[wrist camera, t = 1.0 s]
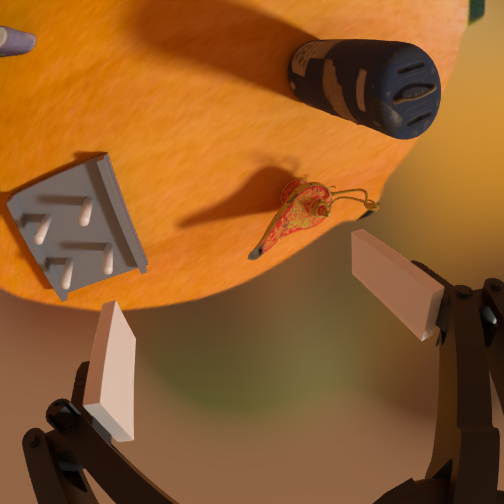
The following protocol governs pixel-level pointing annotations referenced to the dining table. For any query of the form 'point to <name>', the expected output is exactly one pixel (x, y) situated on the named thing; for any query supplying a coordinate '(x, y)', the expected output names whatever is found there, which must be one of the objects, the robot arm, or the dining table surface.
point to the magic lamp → (301, 211)
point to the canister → (369, 83)
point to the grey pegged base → (78, 226)
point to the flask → (15, 42)
